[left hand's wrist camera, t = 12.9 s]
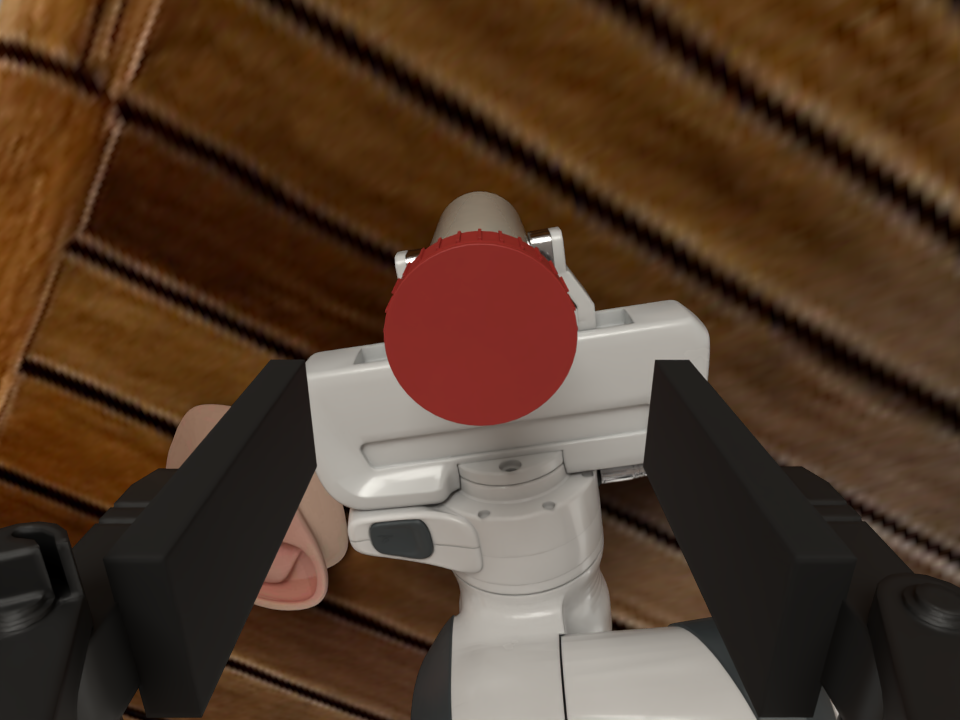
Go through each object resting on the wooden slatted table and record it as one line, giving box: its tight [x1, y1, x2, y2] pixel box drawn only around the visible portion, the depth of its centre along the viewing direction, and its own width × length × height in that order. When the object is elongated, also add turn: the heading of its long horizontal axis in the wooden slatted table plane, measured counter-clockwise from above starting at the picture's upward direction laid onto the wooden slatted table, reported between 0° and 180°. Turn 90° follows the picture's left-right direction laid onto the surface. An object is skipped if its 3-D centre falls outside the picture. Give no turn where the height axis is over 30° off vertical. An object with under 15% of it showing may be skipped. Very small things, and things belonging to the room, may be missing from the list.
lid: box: [383, 228, 578, 426], centre depth 20 cm, size 6×6×2 cm
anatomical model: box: [166, 404, 348, 610], centre depth 39 cm, size 13×4×12 cm
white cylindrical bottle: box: [430, 192, 530, 246], centre depth 27 cm, size 5×5×17 cm
